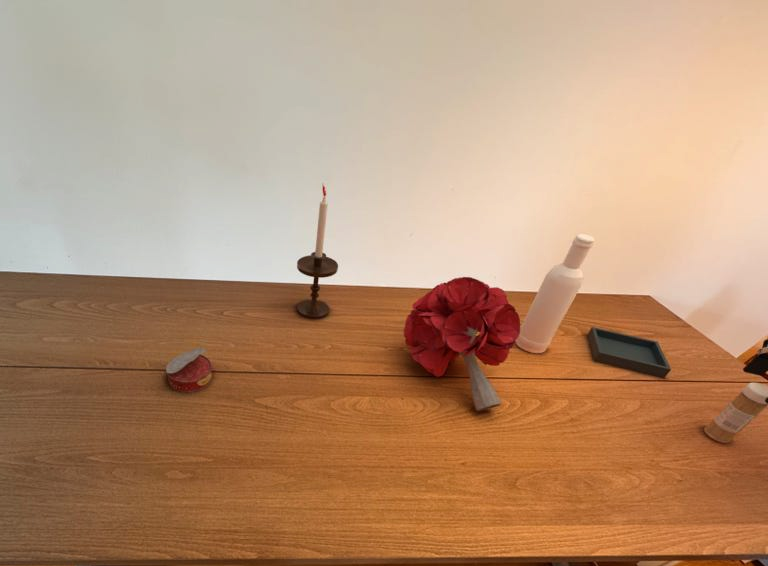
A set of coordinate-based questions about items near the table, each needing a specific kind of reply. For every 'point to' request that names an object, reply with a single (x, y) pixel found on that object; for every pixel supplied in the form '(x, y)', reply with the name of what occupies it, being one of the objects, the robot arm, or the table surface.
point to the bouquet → (463, 332)
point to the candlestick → (317, 269)
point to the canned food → (189, 371)
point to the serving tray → (628, 352)
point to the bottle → (554, 298)
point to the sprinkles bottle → (738, 413)
